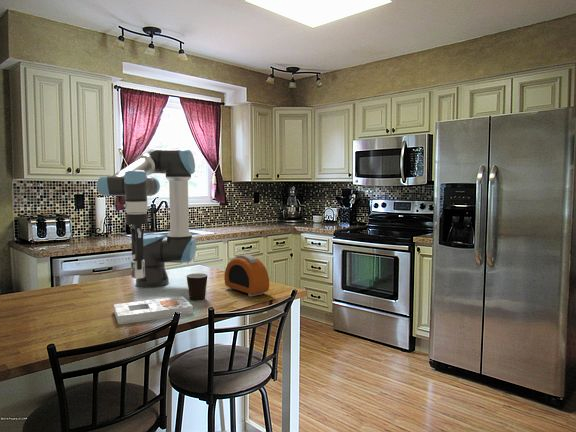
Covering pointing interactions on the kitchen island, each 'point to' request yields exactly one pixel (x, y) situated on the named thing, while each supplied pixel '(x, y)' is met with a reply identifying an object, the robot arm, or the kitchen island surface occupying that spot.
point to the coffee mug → (197, 286)
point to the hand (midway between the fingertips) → (138, 276)
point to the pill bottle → (134, 267)
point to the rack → (151, 309)
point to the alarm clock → (247, 275)
